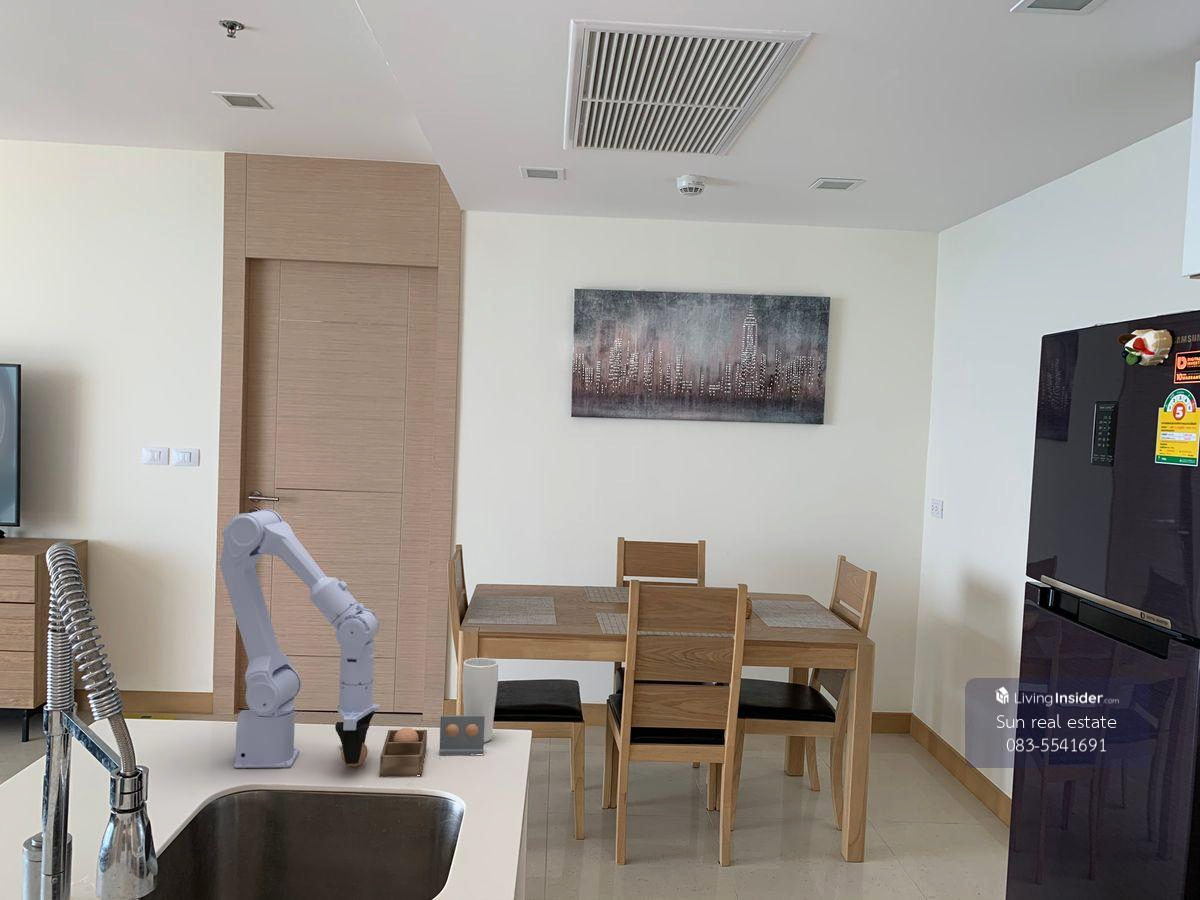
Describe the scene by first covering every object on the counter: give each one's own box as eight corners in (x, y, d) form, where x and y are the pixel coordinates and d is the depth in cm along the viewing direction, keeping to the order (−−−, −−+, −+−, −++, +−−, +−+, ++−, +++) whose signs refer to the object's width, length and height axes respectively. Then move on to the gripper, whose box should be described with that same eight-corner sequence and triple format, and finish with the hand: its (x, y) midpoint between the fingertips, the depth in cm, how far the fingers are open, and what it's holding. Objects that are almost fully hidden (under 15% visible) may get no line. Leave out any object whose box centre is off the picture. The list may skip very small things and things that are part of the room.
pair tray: (379, 776, 156) (380, 756, 156) (387, 748, 169) (388, 730, 169) (421, 776, 157) (422, 756, 156) (426, 748, 170) (427, 729, 170)
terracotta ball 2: (391, 757, 164) (392, 732, 163) (394, 748, 168) (395, 724, 168) (417, 757, 164) (418, 732, 164) (419, 748, 169) (420, 724, 168)
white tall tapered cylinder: (478, 748, 171) (480, 668, 171) (452, 739, 175) (455, 661, 175) (503, 739, 177) (505, 662, 176) (478, 731, 181) (480, 655, 180)
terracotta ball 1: (338, 770, 158) (339, 744, 158) (342, 761, 162) (343, 736, 162) (365, 770, 158) (366, 744, 158) (368, 760, 163) (369, 735, 163)
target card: (439, 755, 167) (440, 718, 166) (439, 749, 170) (441, 713, 169) (483, 755, 168) (484, 718, 167) (483, 749, 171) (484, 713, 170)
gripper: (375, 692, 153) (372, 773, 154) (384, 669, 168) (382, 743, 168) (331, 692, 152) (329, 773, 153) (344, 669, 167) (342, 743, 167)
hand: (354, 757), depth 160 cm, fingers closed on terracotta ball 1, 4 cm apart
